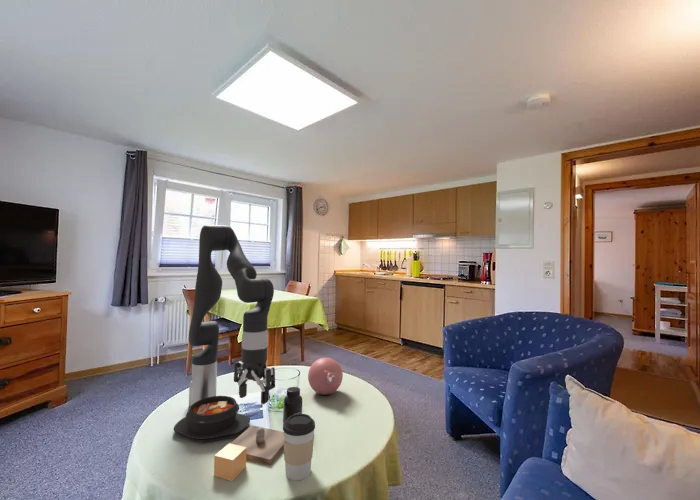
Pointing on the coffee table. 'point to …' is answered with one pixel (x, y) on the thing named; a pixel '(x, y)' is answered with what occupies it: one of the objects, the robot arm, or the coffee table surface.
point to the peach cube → (230, 461)
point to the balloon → (325, 376)
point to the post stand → (261, 443)
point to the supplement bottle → (292, 403)
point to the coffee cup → (298, 445)
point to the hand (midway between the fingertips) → (253, 400)
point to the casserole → (212, 418)
